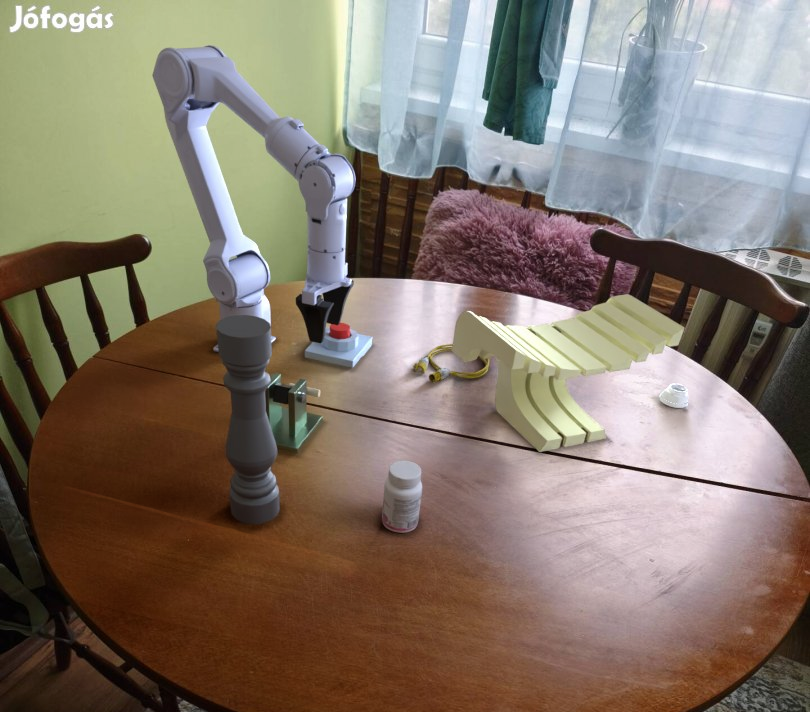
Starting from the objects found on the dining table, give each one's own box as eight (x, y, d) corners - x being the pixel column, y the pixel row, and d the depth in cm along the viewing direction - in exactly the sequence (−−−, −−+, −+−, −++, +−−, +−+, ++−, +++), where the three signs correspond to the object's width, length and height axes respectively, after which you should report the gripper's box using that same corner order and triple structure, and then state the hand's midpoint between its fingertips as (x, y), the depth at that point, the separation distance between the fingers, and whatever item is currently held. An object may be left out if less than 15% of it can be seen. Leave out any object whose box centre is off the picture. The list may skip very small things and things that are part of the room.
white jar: (666, 392, 126) (653, 401, 123) (671, 378, 124) (659, 386, 121) (691, 403, 123) (679, 412, 120) (697, 389, 121) (685, 397, 118)
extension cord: (397, 355, 127) (398, 345, 126) (471, 346, 133) (473, 336, 132) (426, 386, 119) (427, 376, 118) (504, 375, 125) (506, 365, 124)
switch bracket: (274, 411, 108) (272, 362, 103) (322, 422, 107) (323, 373, 102) (246, 443, 101) (242, 392, 95) (297, 455, 100) (296, 404, 94)
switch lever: (289, 394, 109) (291, 378, 108) (319, 401, 108) (321, 385, 107) (263, 399, 99) (265, 382, 98) (296, 406, 98) (298, 390, 98)
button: (333, 330, 126) (333, 320, 124) (352, 334, 125) (352, 324, 124) (326, 337, 123) (326, 328, 122) (345, 341, 122) (346, 332, 121)
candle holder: (288, 504, 91) (283, 321, 75) (265, 532, 86) (255, 343, 70) (245, 492, 92) (232, 309, 76) (221, 518, 87) (201, 330, 71)
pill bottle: (380, 510, 92) (384, 457, 86) (415, 511, 92) (422, 458, 87) (382, 533, 88) (387, 480, 83) (419, 534, 89) (426, 481, 83)
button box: (326, 335, 131) (327, 317, 128) (371, 345, 129) (373, 327, 127) (304, 359, 123) (304, 340, 120) (352, 370, 121) (353, 351, 119)
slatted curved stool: (588, 385, 125) (617, 287, 114) (646, 430, 115) (684, 327, 103) (443, 409, 114) (458, 303, 102) (492, 461, 103) (516, 350, 92)
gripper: (334, 266, 98) (332, 355, 107) (366, 238, 109) (362, 320, 118) (288, 257, 99) (289, 345, 108) (324, 230, 110) (323, 312, 119)
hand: (324, 332), depth 113 cm, fingers open, 7 cm apart
